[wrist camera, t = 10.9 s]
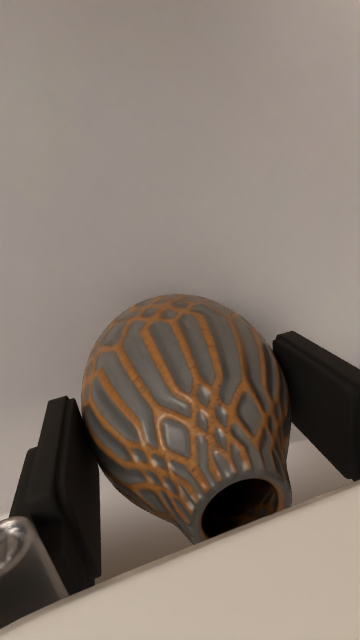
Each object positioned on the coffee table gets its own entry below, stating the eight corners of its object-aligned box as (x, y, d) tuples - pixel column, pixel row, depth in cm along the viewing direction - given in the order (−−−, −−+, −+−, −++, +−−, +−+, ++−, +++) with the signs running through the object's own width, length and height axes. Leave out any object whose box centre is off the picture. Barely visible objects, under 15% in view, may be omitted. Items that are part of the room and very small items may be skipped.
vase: (164, 245, 13) (270, 290, 5) (258, 346, 16) (424, 479, 8) (49, 361, 14) (-14, 571, 6) (160, 442, 16) (226, 663, 8)
